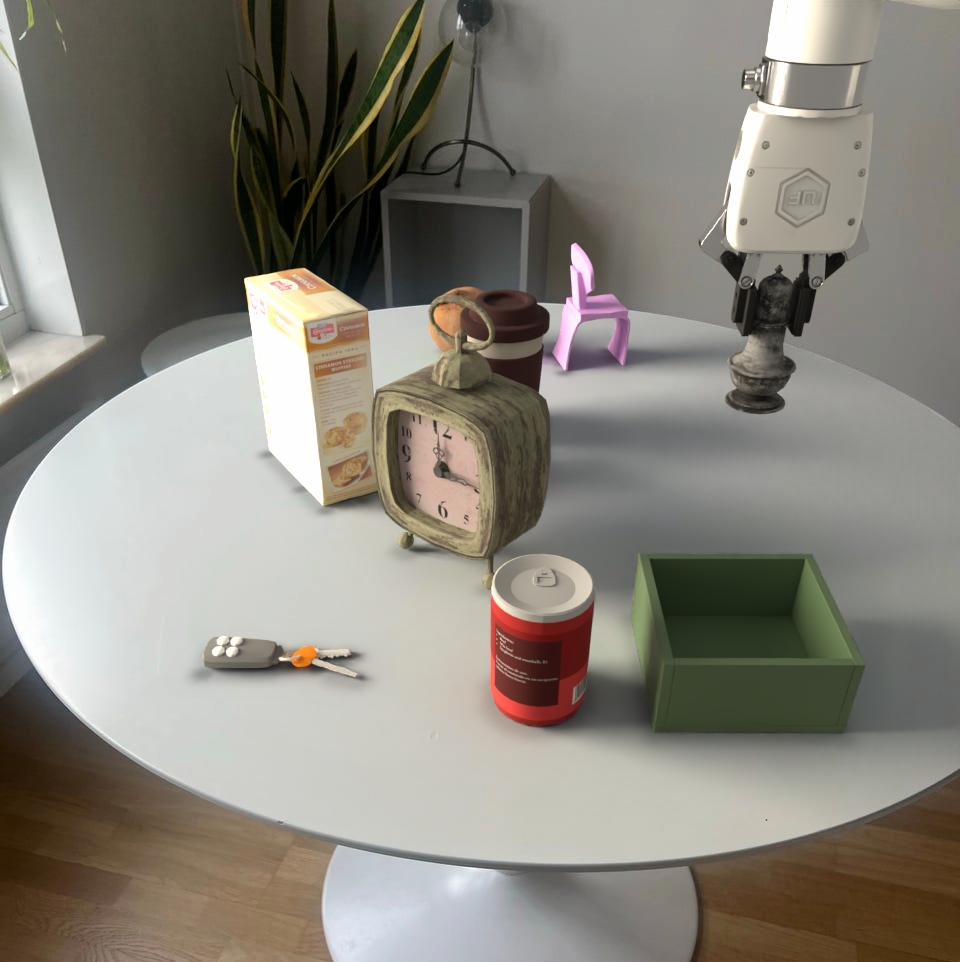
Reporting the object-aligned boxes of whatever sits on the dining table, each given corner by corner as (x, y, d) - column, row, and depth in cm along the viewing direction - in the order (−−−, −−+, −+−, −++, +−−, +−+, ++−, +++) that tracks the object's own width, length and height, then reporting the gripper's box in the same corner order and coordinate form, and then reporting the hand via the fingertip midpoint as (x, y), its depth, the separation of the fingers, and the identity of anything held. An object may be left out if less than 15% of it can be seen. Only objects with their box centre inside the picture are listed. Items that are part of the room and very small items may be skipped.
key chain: (201, 673, 79) (197, 659, 78) (213, 644, 82) (210, 631, 81) (357, 679, 79) (356, 665, 78) (364, 650, 82) (363, 637, 81)
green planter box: (796, 617, 85) (812, 553, 81) (844, 733, 74) (866, 665, 70) (630, 617, 85) (638, 552, 81) (653, 732, 74) (664, 664, 70)
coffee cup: (502, 400, 120) (504, 278, 111) (562, 425, 115) (569, 299, 105) (444, 425, 115) (441, 298, 105) (503, 453, 109) (506, 322, 100)
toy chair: (630, 368, 128) (642, 251, 119) (567, 373, 126) (574, 256, 117) (610, 344, 134) (620, 232, 125) (550, 350, 133) (555, 236, 123)
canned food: (569, 657, 81) (577, 547, 74) (598, 721, 75) (610, 607, 68) (480, 669, 80) (480, 558, 73) (502, 736, 74) (505, 622, 67)
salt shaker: (707, 400, 87) (728, 263, 79) (748, 382, 90) (771, 248, 82) (762, 422, 83) (789, 281, 76) (801, 402, 86) (831, 265, 79)
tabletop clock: (379, 549, 94) (359, 290, 78) (441, 512, 99) (434, 263, 84) (495, 606, 87) (498, 333, 71) (554, 562, 92) (570, 300, 76)
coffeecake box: (383, 490, 103) (370, 308, 91) (322, 508, 100) (300, 322, 88) (324, 435, 113) (306, 264, 100) (267, 450, 110) (241, 276, 98)
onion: (449, 383, 131) (423, 328, 123) (438, 340, 137) (411, 284, 128) (514, 357, 130) (492, 299, 122) (500, 314, 135) (478, 256, 127)
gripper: (707, 96, 68) (676, 347, 80) (944, 95, 68) (878, 348, 79) (692, 78, 74) (665, 314, 86) (909, 77, 74) (853, 315, 85)
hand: (768, 328), depth 82 cm, fingers closed on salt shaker, 3 cm apart
